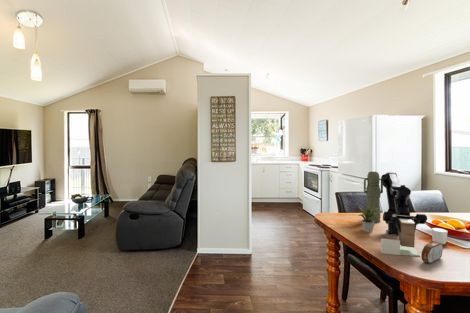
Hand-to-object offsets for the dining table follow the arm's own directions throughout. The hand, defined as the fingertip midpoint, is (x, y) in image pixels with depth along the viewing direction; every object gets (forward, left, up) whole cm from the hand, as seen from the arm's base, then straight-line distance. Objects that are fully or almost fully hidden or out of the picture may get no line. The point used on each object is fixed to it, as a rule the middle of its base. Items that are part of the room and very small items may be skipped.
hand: (407, 232), depth 123 cm
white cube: (-20, +21, -10) cm, 31 cm away
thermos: (-52, -6, -10) cm, 54 cm away
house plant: (-28, -12, -10) cm, 33 cm away
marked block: (-1, 0, -7) cm, 7 cm away
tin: (+6, +9, -11) cm, 15 cm away
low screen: (+3, -8, -10) cm, 13 cm away
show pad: (-1, 0, -10) cm, 10 cm away
